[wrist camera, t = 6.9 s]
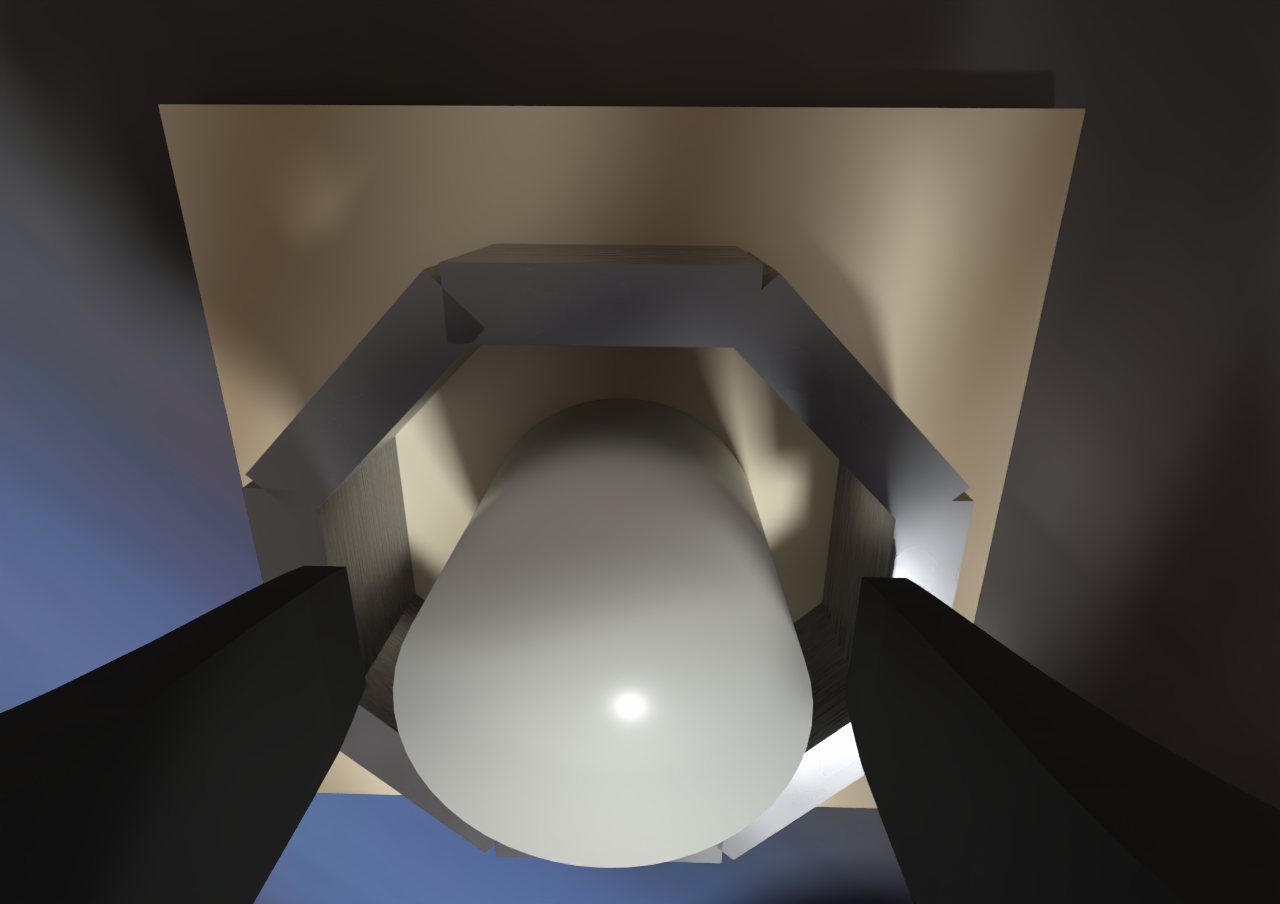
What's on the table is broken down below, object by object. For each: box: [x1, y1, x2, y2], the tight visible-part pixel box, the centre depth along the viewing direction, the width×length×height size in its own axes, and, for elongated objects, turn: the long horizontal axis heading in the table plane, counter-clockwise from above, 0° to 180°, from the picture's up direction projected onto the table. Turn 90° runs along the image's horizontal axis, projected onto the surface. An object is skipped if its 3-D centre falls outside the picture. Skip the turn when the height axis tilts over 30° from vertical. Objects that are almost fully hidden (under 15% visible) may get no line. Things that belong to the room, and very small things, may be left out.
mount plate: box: [158, 104, 1086, 808], centre depth 13 cm, size 14×14×1 cm
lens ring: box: [242, 244, 974, 863], centre depth 11 cm, size 10×10×3 cm
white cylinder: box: [393, 398, 813, 868], centre depth 10 cm, size 5×5×5 cm
